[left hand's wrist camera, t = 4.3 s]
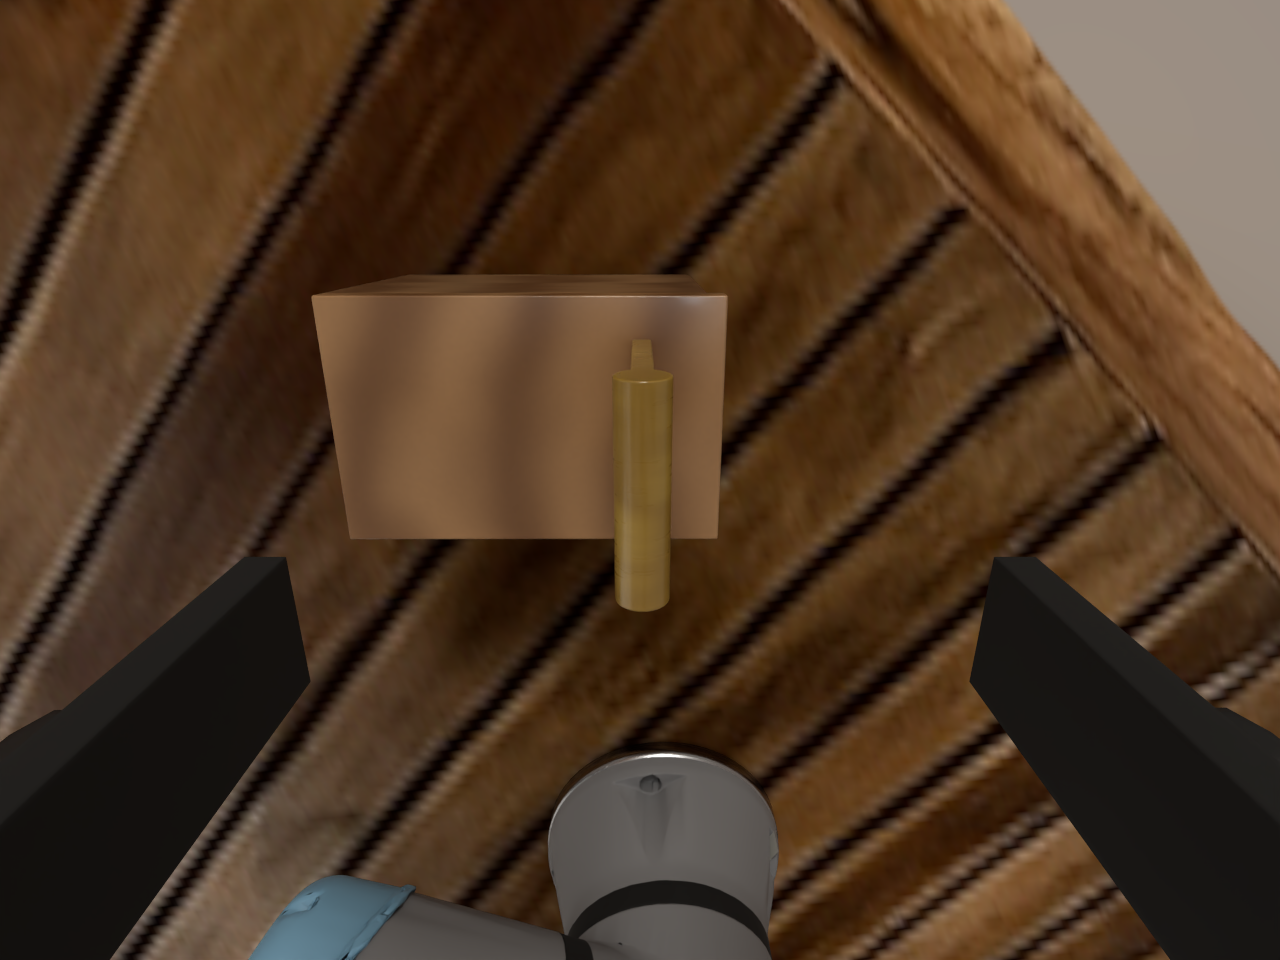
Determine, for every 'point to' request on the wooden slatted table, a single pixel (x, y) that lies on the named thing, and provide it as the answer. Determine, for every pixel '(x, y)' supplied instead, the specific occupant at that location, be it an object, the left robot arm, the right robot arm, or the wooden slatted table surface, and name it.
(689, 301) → the panel with bar handle
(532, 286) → the chest
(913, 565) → the wooden slatted table surface
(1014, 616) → the left robot arm
